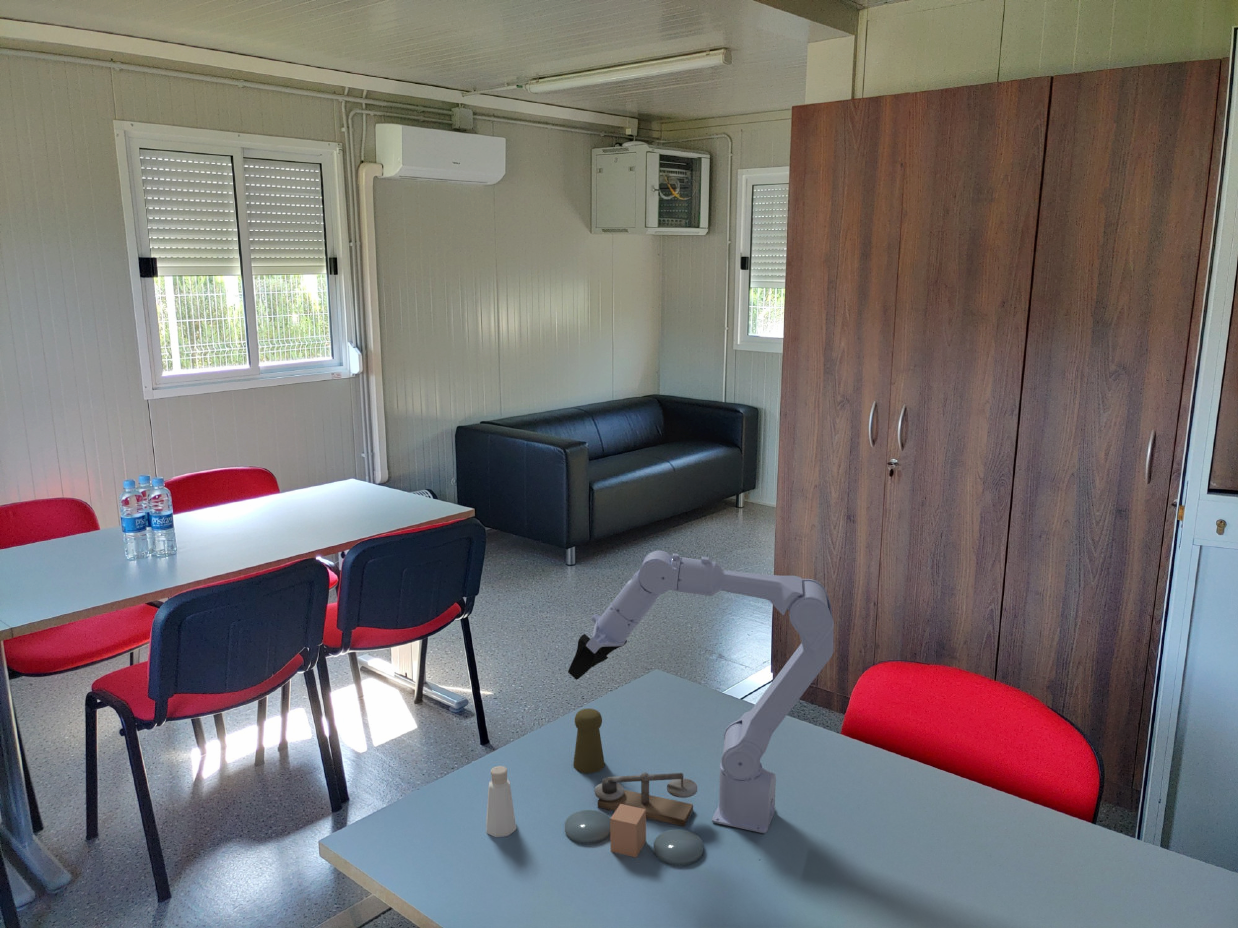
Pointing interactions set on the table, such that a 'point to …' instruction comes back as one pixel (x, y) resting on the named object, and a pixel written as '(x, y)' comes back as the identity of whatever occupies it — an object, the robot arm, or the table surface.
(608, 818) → the grey dome
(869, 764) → the table surface
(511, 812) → the salt shaker
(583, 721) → the cork
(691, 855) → the smooth grey pebble
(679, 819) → the balance
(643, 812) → the block
